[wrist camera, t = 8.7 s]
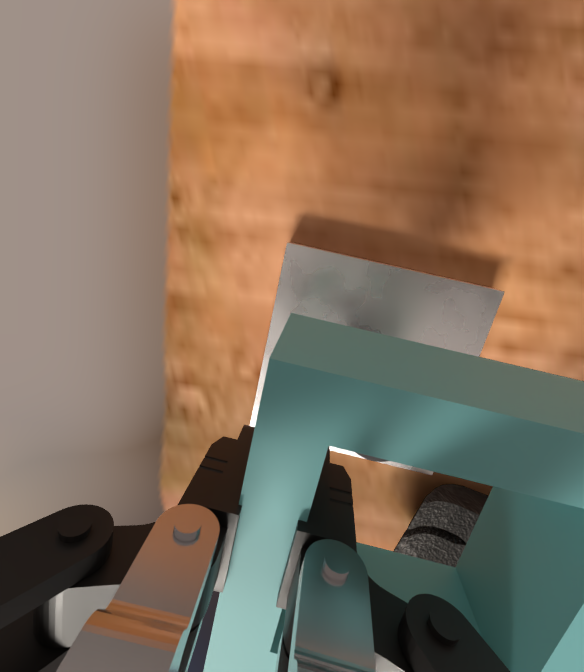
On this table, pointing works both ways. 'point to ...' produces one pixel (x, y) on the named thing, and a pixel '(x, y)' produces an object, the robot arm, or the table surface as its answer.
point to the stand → (379, 306)
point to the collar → (426, 453)
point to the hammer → (443, 524)
